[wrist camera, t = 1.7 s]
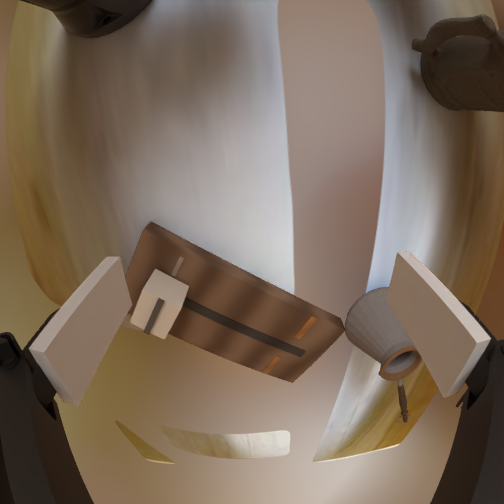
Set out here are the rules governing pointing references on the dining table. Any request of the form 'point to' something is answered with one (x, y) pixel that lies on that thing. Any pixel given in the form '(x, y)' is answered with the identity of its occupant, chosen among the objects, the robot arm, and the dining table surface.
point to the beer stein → (464, 63)
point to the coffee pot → (383, 339)
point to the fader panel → (233, 308)
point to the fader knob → (159, 304)
